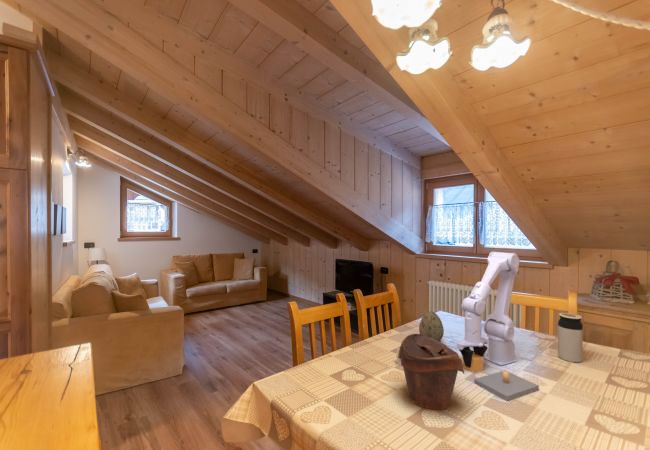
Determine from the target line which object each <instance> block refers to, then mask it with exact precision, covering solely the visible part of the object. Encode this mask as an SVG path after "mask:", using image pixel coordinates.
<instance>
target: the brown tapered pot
mask: <svg viewBox="0 0 650 450" xmlns="http://www.w3.org/2000/svg"><path fill="white" fill-rule="evenodd" d="M400 346H401V347H400V350H399V354H398V359H399V358H400V360H401V365H402V366H401V367H402V368H403V373H404V377H405V379H404V380H405V384H406V388H407V394H408V397H409V399H410V401H411V402H412V403H414V404H415V405H418V406H420V407H421V408H425V409H430V410H439V411H440V410H444V409H447V408H448V407H449V406H450V405H451V403H452V398H453V393H454V388H455V384H456V381H457V377H458V372H461V373H462V374H465V370H464V368H463V358H461V357H460V355H459V353H458V352H457V351H455V350H453V349H452V348H450V347H448V346H447V345H446V344H444V343H442V342H441V341H440V342H439V341H437V340H435V339H433V338H430V337H428V336H425V335H422V334H420V333H410V334H408V335H407V336H405V337H404V338H403V340H402V341H401V343H400Z"/></svg>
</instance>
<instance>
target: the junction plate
mask: <svg viewBox="0 0 650 450" xmlns="http://www.w3.org/2000/svg"><path fill="white" fill-rule="evenodd" d="M473 383H474V384H475V385H476V386H478V387H480V388H483V389H484V390H486V391H488V392H489V393H491V394H493V395H495V396H497V397H498V398H501V399H503V400H505V401H506V402H509V401H511V400H514V399H516V398H517V399H518V398H519V397H522V396H526V395H529V394H531V393H534V392H537V391H539V390H540V388H539V387H540V385H538V384H536V383H534V382H531V381H529V380H527V379H526V378H523V377H521V376H518V375H516V374H513V373H511V372H510V371H508V370H506V369H505V370H500V371H497V372H494V373H490V374H487V375H483V376H480V377H477V378H474V380H473Z"/></svg>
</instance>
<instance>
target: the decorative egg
mask: <svg viewBox="0 0 650 450" xmlns="http://www.w3.org/2000/svg"><path fill="white" fill-rule="evenodd" d="M444 331H445V330H444V325H443V322H442V320H441V317H440V316H438V314H437V313H436V312H434V311H433V310H429V311H427V312H425V314H423V316H422V317H421V320H420V322H419V327H418V332H419V334H422V335H425V336H428V337H430V338H433V339H435V340H437V341H439V342H441V341H442V339H443V337H444V334H445V333H444Z"/></svg>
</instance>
